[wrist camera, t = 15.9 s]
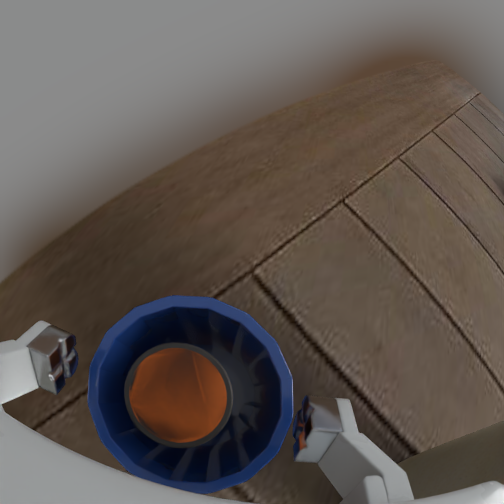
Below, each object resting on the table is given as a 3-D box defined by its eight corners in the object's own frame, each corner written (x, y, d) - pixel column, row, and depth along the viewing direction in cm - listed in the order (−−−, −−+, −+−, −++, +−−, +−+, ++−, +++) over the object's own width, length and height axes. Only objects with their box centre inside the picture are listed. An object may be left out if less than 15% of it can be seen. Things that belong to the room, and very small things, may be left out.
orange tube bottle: (176, 416, 18) (122, 440, 7) (177, 370, 19) (126, 337, 8) (225, 419, 18) (232, 451, 7) (225, 373, 19) (234, 344, 9)
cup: (143, 444, 17) (87, 476, 8) (147, 336, 21) (98, 289, 12) (260, 450, 18) (293, 491, 9) (259, 341, 21) (290, 298, 13)
